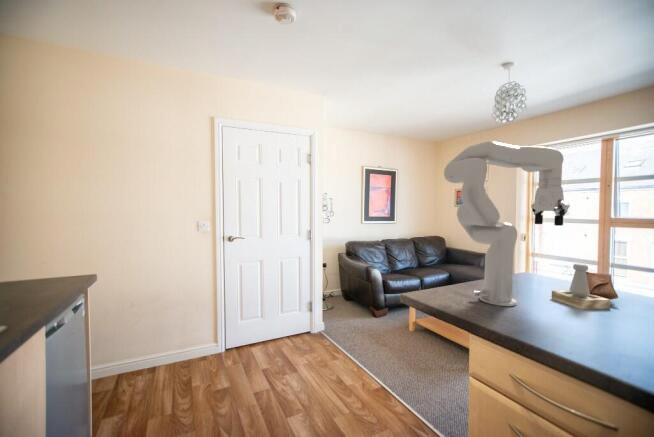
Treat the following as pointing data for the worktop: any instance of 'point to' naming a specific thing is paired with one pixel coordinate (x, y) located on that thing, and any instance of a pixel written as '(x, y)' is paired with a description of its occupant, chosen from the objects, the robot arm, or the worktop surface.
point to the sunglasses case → (601, 285)
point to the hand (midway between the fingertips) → (548, 224)
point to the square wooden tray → (581, 300)
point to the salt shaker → (580, 281)
